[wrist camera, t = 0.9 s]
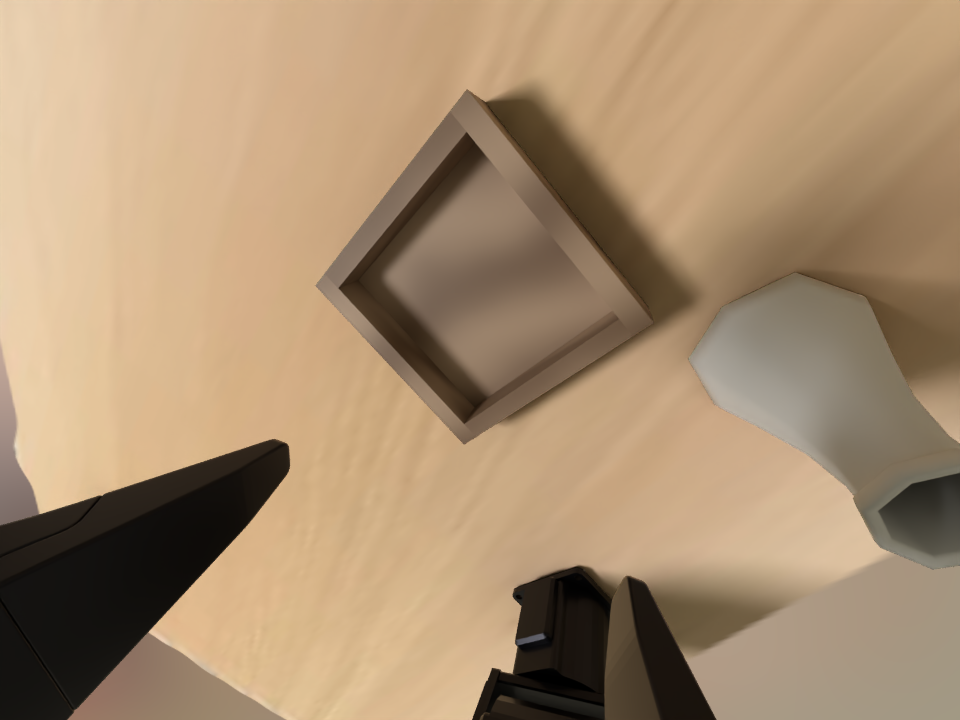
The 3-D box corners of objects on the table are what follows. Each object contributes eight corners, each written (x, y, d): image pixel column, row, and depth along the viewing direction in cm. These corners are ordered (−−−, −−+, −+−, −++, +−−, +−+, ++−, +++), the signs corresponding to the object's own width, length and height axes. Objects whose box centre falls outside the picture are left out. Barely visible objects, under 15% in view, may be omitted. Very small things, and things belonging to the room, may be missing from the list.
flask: (796, 239, 16) (1039, 308, 7) (925, 348, 16) (1316, 547, 7) (658, 357, 19) (705, 501, 10) (766, 445, 19) (899, 655, 11)
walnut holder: (647, 306, 18) (653, 322, 16) (476, 421, 24) (464, 444, 22) (484, 101, 17) (467, 89, 15) (343, 276, 22) (315, 285, 20)
